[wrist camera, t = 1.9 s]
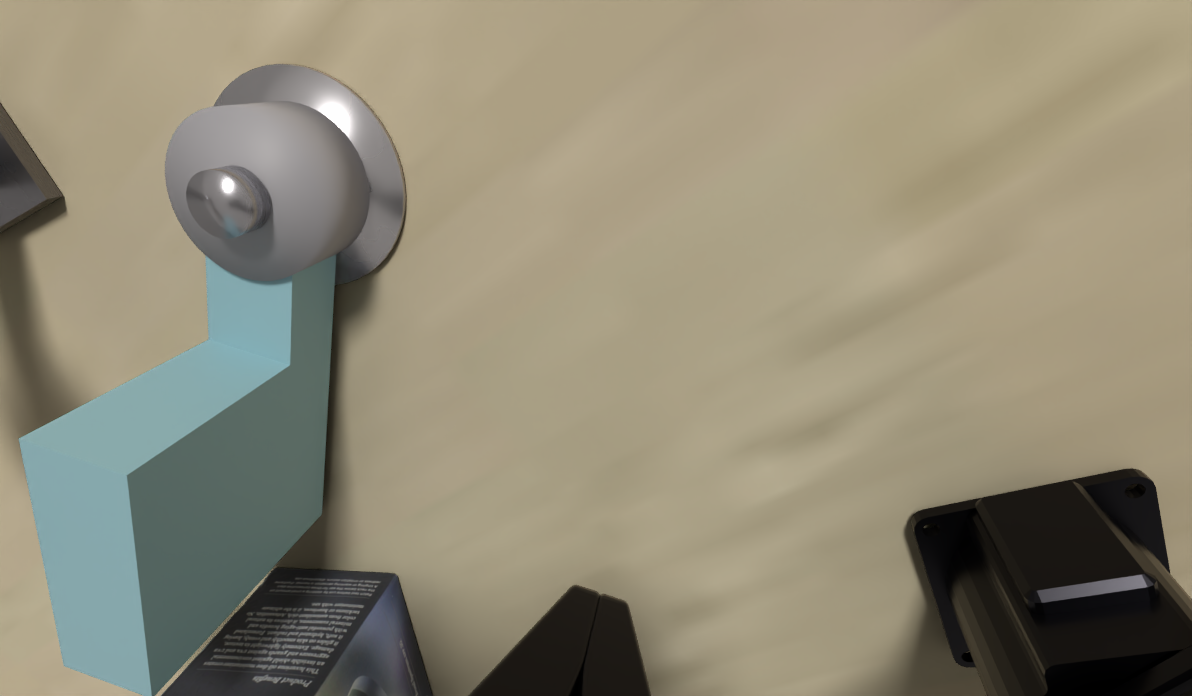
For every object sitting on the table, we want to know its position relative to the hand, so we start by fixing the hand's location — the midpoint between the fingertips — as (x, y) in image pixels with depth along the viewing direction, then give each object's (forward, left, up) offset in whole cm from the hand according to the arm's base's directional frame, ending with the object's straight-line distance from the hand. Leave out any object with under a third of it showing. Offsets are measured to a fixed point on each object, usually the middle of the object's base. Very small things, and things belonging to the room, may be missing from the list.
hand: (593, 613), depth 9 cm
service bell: (+8, +9, -12) cm, 17 cm away
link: (+4, +12, -12) cm, 17 cm away
